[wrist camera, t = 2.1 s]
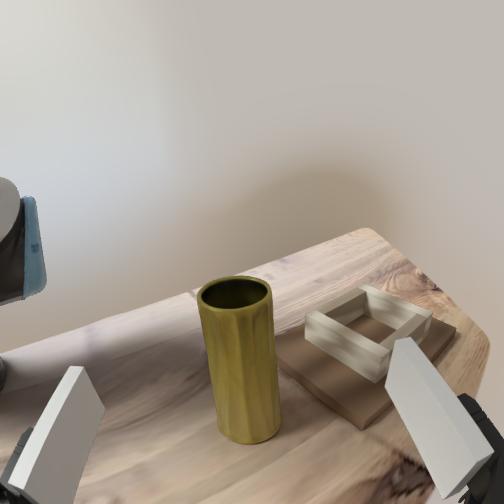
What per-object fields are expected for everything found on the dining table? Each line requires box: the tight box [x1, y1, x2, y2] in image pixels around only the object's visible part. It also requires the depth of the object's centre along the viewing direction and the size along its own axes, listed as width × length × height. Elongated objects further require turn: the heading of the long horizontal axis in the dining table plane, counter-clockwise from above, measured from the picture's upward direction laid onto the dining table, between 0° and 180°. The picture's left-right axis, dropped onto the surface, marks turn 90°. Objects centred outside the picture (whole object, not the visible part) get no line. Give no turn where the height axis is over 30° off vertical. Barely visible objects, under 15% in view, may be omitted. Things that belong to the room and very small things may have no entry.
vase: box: [197, 276, 282, 444], centre depth 24 cm, size 6×6×14 cm
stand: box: [275, 284, 456, 430], centre depth 34 cm, size 16×20×5 cm
